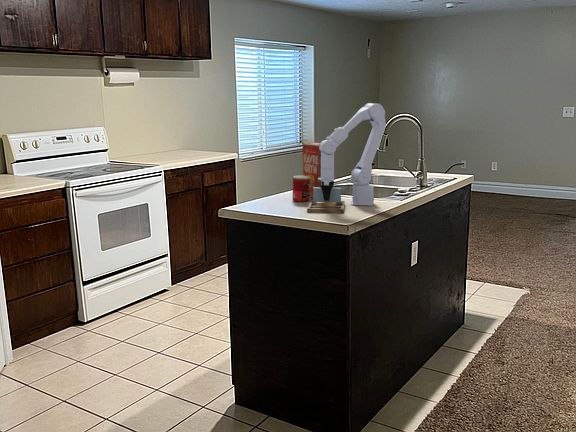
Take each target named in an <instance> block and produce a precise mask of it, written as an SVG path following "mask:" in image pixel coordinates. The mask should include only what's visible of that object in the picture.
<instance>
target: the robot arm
mask: <svg viewBox="0 0 576 432" xmlns="http://www.w3.org/2000/svg"><path fill="white" fill-rule="evenodd" d="M366 120H369V123H370V124H371V126H372V128H371V131H370V133H369V136H368V139H367V141H366V144H365V147H364V149H363V152H362V155H361V158H360V160H359V161H358V162H357V164H355V167H354V169H352V170H351V174H350V178H351V179H352V180H353V181H352V195H351V196H352V201H351V203H350V204H351V206H374V201H375V197H374V188H375V187H374V186H375V185H374V184H372V183H370V182H371V180H372V171H373V166H372V163H374V162H373V161H374V159H375V156H376V153H377V152H378V149H379V146H380V143H381V140H382V137H383V136H384V133H385V129H386V127H387V123H386V110H385V108H384V107H383V105H382V104H380V103H372V102H368V103H366V104H365V105H364V106H362V107H361V108H360V109H359V110H357V112H356V113H355V114H354V115H353V116H352V117H351V118H350V119H349V120H348V121H346V123H345V124H344V125H343V126H338V128H337V127H336V128H334V129H333V132H332V133H331V134H330V135H327V136H326V138H325V140H322V141H321V142H319V143H320V146H319V149H320V151H321V178H318V180H321V181H322V182H321V183H322V184H320V187H321V189H322V192H323V197H324V201H329V199H330V194H331V190H332V187H333V184H334V185H335V152H336V150H337V147H339V146H340V145H341V144H342V143H343V142H344V141H345V140H346V139H347V138H349V132H351V130H353V129H354V128H355V127H357V126H358V125H359V124H360V123H361V122H362V121H366Z"/></svg>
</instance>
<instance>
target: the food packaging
mask: <svg viewBox="0 0 576 432" xmlns="http://www.w3.org/2000/svg"><path fill="white" fill-rule="evenodd" d="M320 143H321V142H306V143H302V176H309V177H310V198H313V188H314V187H320V184H322V183H321V182H322V181H321V180H318V178H321V151H320V149H319V146H320ZM332 188H335V183H334V184H333V187H332Z"/></svg>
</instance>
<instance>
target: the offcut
mask: <svg viewBox="0 0 576 432" xmlns="http://www.w3.org/2000/svg"><path fill="white" fill-rule="evenodd" d="M317 206H336V202H319V201H318V202H317Z"/></svg>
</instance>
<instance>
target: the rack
mask: <svg viewBox="0 0 576 432" xmlns="http://www.w3.org/2000/svg"><path fill="white" fill-rule="evenodd" d="M344 211H345V200H341V203H336V206H317V203H313V200H309V203H308V206H307V208H306V213H313V214H314V213H316V214H317V213H318V214H319V213H320V214H322V213H324V214H344Z"/></svg>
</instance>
